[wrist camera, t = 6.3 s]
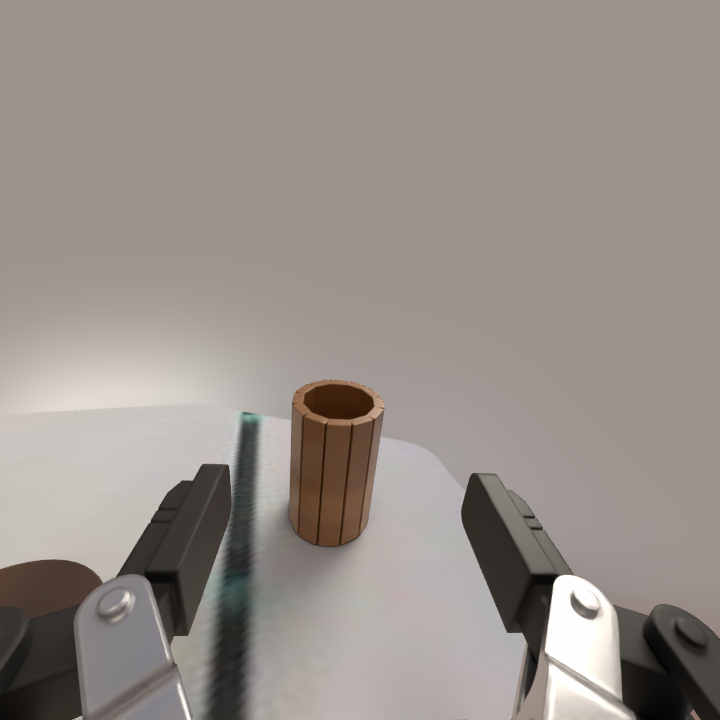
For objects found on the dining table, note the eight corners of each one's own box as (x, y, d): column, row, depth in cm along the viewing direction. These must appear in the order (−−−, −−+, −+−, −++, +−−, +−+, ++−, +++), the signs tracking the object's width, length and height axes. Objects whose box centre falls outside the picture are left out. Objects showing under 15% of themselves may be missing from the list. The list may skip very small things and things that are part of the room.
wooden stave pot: (284, 546, 24) (287, 422, 20) (294, 483, 29) (297, 377, 25) (371, 547, 24) (389, 427, 20) (364, 485, 30) (378, 382, 26)
